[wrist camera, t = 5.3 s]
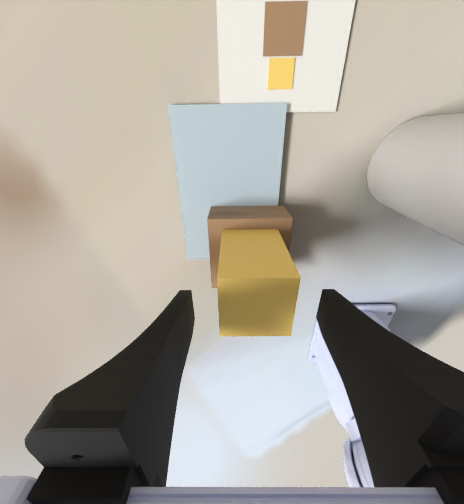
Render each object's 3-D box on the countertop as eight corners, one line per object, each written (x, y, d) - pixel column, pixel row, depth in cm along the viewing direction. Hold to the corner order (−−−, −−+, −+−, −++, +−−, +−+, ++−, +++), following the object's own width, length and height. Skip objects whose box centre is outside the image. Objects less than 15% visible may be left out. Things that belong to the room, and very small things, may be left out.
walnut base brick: (277, 267, 21) (284, 287, 18) (214, 268, 21) (212, 287, 18) (284, 205, 18) (292, 218, 16) (210, 206, 18) (207, 219, 16)
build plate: (272, 255, 21) (273, 258, 21) (188, 256, 21) (187, 259, 21) (285, 104, 15) (287, 103, 15) (169, 105, 15) (167, 105, 15)
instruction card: (334, 111, 16) (336, 111, 15) (220, 113, 16) (220, 113, 15) (356, -13, 13) (359, -16, 12) (216, -10, 13) (215, -13, 12)
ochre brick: (273, 275, 18) (290, 335, 13) (223, 275, 18) (219, 336, 13) (277, 228, 16) (300, 277, 11) (222, 229, 16) (216, 278, 11)
